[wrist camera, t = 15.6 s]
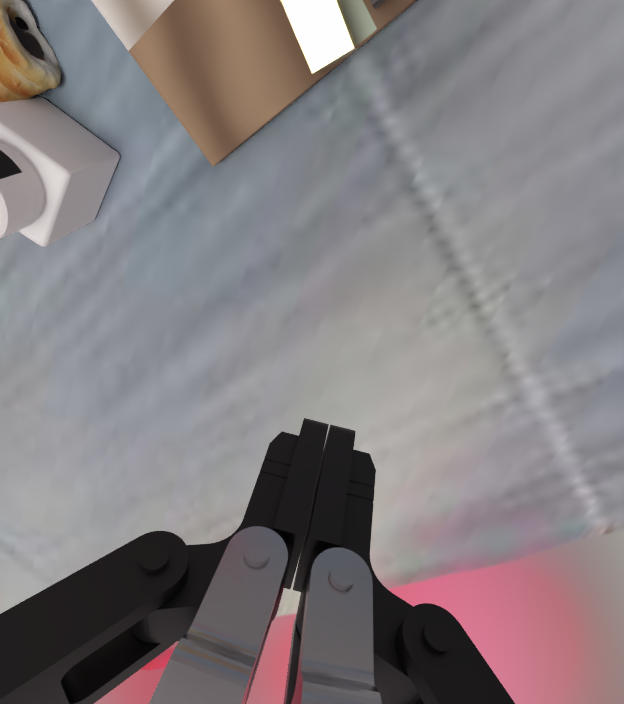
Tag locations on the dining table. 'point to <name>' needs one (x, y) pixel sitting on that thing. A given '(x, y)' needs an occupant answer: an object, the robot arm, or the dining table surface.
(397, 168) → the dining table surface
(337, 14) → the latch bar
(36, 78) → the pastry
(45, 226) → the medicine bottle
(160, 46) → the door board
